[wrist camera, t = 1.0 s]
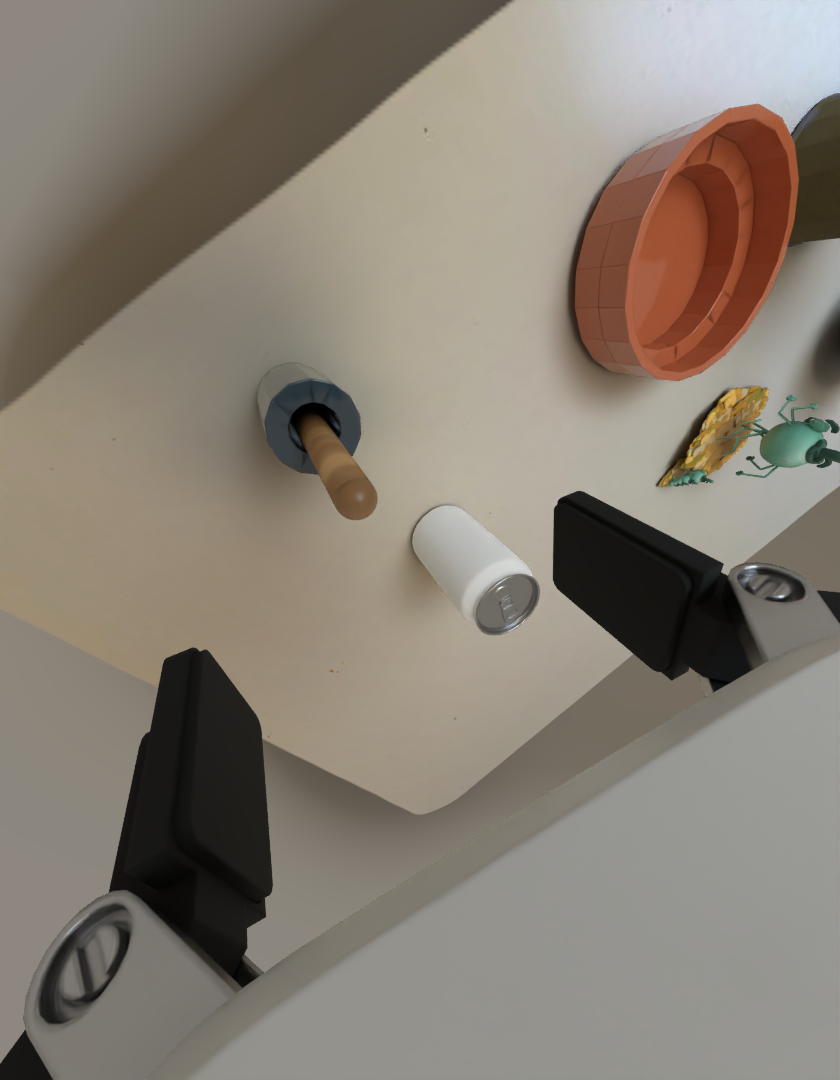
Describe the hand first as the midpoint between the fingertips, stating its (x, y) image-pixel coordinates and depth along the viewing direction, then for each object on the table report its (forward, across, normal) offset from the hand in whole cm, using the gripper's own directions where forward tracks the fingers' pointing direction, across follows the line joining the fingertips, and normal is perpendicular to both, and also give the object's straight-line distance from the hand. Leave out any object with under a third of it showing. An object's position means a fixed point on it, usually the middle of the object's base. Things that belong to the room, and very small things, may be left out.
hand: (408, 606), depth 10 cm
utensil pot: (+23, 0, -1) cm, 23 cm away
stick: (+22, 0, -1) cm, 22 cm away
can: (+23, -10, +15) cm, 29 cm away
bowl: (+23, -32, -4) cm, 40 cm away
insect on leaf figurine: (+23, -46, +16) cm, 54 cm away
